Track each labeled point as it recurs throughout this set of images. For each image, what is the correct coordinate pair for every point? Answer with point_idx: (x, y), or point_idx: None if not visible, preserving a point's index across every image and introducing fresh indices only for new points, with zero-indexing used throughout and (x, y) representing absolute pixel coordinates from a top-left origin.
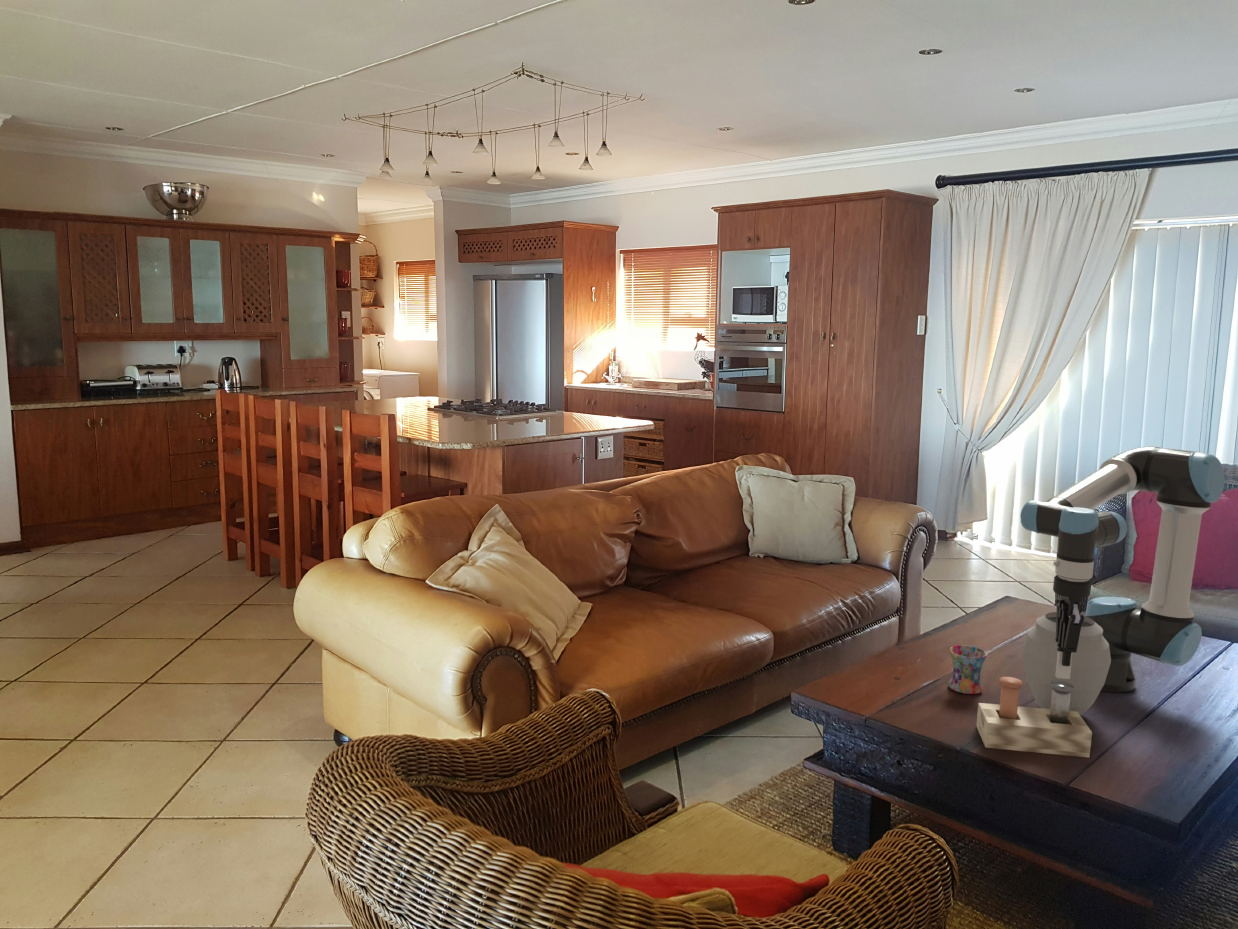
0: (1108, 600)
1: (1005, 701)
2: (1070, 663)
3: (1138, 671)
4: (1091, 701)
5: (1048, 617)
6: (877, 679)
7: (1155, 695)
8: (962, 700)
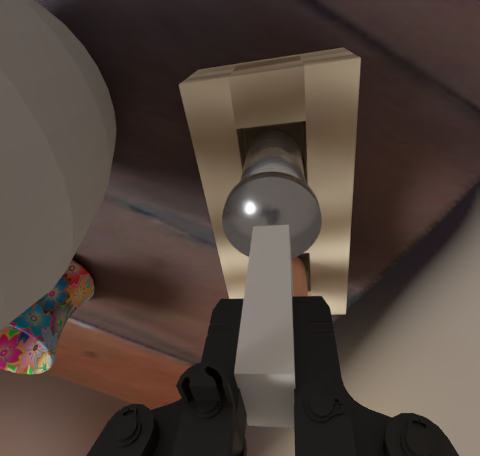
0: None
1: None
2: (291, 295)
3: None
4: (42, 8)
5: None
6: (114, 373)
7: None
8: (122, 283)
